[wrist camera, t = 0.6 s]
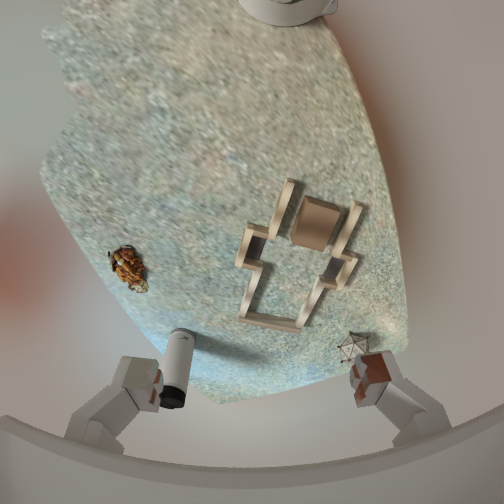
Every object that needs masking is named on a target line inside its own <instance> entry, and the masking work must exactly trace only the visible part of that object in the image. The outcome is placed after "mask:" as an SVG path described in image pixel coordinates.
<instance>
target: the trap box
mask: <svg viewBox="0 0 504 504" xmlns="http://www.w3.org/2000/svg"><path fill="white" fill-rule="evenodd" d="M294 185H295V183H294V181H293V180H292V179H289V178H286V180H285V183H284V186H283V188H282V191H281V194H280V197H279V200H278V202H277V205H276V208H275V211H274V214H273V216H272V219H271V222H270V225H269V228H266V227H262V226H258V225H254V224H251V223H247V225H246V228H245V231H244V234H243V237H242V240H241V243H240V247H239V250H238V253H237V256H236V260H235V266H237V267H241V268H245V269H249V270H253V272H252V275H251V277H250V280H249V283H248V286H247V288H246V291H245V294H244V297H243V299H242V302H241V305H240V308H239V310H238V319H237V322H241V323H246V324H251V325H256V326H261V327H266V328H271V329H276V330H282V331H287V332H293V333H298V334H300V332H301V331H302V327H303V325H304V323H305V321H306V320H307V318H308V316H309V314H310V312H311V311H312V309H313V307H314V305H315V303H316V302H317V300H318V298H319V296H320V294H321V292H322V290H323V288H324V287H325V288H330V289H334V290H338V291H341V290H342V288H343V287H344V285H345V283H346V281H347V279H348V278H349V276H350V274H351V272H352V270H353V268H354V266H355V265H356V263H357V261H358V258H357V256H356V254H355V253H354V252H350V251H347V250H344V247H345V245H346V243H347V241H348V239H349V237H350V235H351V233H352V230H353V228H354V226H355V224H356V222H357V220H358V217H359V215H360V213H361V211H362V209H363V207H362V206H361V205H360V204H359V203H358V202H356V201H353V202H352V204H351V206H350V208H349V211H348V213H347V215H346V217H345V220H344V222H343V224H342V226H341V229H340V231H339V233H338V235H337V237H336V239H335V242H334V244H333V246H332V248H331V250H330V251H331V253H332V255H333V256H332V258H331V260H330V262H329V264H328V266H327V268H326V270H325V272H324V274H323V276H321V275H318V277H317V279H316V281H315V283H314V285H313V287H312V289H311V291H310V293H309V295H308V297H307V299H306V300H305V302H304V304H303V306H302V308H301V310H300V312H299V314H298V316H297V318H296V319H295V320H292V319H287V318H282V317H277V316H272V315H267V314H262V313H257V312H253V311H248V310H247V309H248V307H249V304H250V302H251V299H252V297H253V294H254V291H255V289H256V286H257V284H258V281H259V278H260V276H261V273H262V271H263V261H260V260H258V259H259V256H260V253H261V251H262V248H263V245H264V242H265V240H266V239H269V240H272V241H274V239H275V236H276V234H277V231H278V228H279V226H280V223H281V220H282V218H283V215H284V212H285V210H286V207H287V204H288V202H289V199H290V196H291V194H292V191H293V188H294Z"/></svg>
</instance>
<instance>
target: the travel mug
mask: <svg viewBox="0 0 504 504" xmlns="http://www.w3.org/2000/svg"><path fill="white" fill-rule="evenodd" d="M194 344H195V336H194V334H193V333H192V332H190V331H189V330H186V329H182V328H179V329H175V330H173V331H172V332H171V334H170V337H169V341H168V345H167V349H166V353H165V357H164V361H163V364H162V369H161V371H162V373H163V378H164V386H163V391H162V392H161V393H160V394H159V398H160V400H161V401H160V405H159V406H161V407H164V408H167V409H174V408H182V407H184V403H185V397H186V392H187V386H188V380H189V374H190V368H191V362H192V356H193V350H194Z"/></svg>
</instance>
